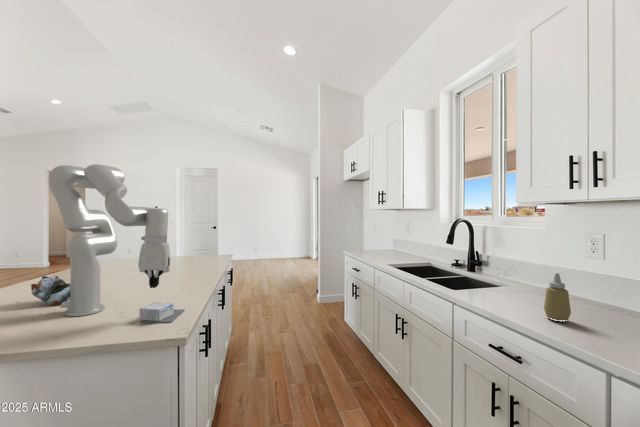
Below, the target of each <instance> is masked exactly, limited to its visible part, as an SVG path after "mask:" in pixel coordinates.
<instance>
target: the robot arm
mask: <svg viewBox="0 0 640 427" xmlns="http://www.w3.org/2000/svg"><path fill="white" fill-rule="evenodd" d="M125 179H126V178H125V174H124V173H123V171H122V170H121V169H120V168H118V167H115V166H111V165H104V164H99V163H98V164H96V163H95V164H90V165H88V166H86V167H82V166H75V165H67V164H66V165H65V164H64V165H58V166H55V167H54V168H53V169H51V171H50V172H49V175H48V186H49V190H50V192H51V193H52V195H53V198H55V201H56V203H57V205H58V209H59V212H60V214H61V217H62V221H63V223H64V225H65V228H66V229H67V231H69V232H72V233H80V234H77V235H75V236H72V237H71V238H70V239H69V241H68V242H67V245H66V246H67V253H68V257H69V261H70V262H69V263H70V283H71V288H70V300H69V301H68V302H62V304H61V305H59V307H60V308H61V309H62V308H66V310H65V311H64V315H65V316H67V317H83V316H89V315H93V314H96V313H99V312H102V311H104V310H105V308H106V307H105V305H104V304H102V303H101V265H100V262H99V261H98V258H97V256H103V255H110V254H112V253H114V252H115V251H116V249H117V248H118V240H117V236H116V233H115V231H114V230H115V229H114V227H113V224H112V222H111V218H112V219H113V220H114V221H115V222H116V223H118V224H119V225H121V226H123V227H145V230H144V232H145V234H144V236H141V241H143V242H144V243H142V244H141V246H140V251H139V256H138V262H137V264H138V266H137V267H138V269H139V270H138V271H139V272H140V273H145V274H146V275H147V277H148V278H149V280H148V285H149V288H150V289H156V288H157V287H158V286H159V284H160V277H161V276H162V274H165V273H166V274H167V273H169V272H170V271H171V270H170V267H171V266H170V264H171V253H170V252H171V251H170V244H169V243H168V230H169V229H168V228H169V227H168V226H169V225H168V224H169V211H168V209H166V208H157V207H156V208H155V207H154V208H153V207H147V206H145V207H144V206H129V205H128V204H127V203H125V201H123V198H124V197H125V196H126V195H127V192H128V187H127V186H126V185H125V184H124V183H125ZM76 188H82V189H93V190H94V189H95V190H96V191H97V192H98V193H99V194H100V195H101V196H102V197H103V199H104V206H105V210H106V212H107V213H106V212H105V211H103V210H101V209H90V208H88V206H87V204H86V201H85V199H84V197H83V195H81V193H79V191H77V189H76ZM109 216H110V217H111V218H110V217H109Z"/></svg>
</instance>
